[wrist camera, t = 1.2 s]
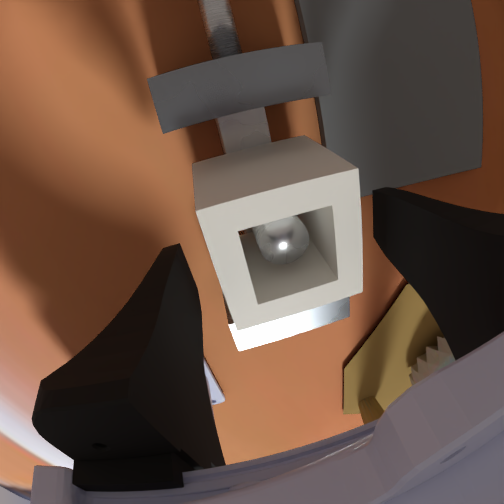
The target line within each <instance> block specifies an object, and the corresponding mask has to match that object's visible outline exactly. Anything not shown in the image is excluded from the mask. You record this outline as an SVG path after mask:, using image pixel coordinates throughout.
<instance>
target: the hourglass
mask: <svg viewBox="0 0 504 504" xmlns="http://www.w3.org/2000/svg"><path fill="white" fill-rule="evenodd" d="M454 361H455V358H454V356H453V354H452V352H451V350H450V347H449V345H448V343H447V341H446V339H445V337H444V335H443V333H442V332H441V330H440V328H439V326H438V324H437V322H436V321H435V319H434V317H433V316H432V314H431V312H430V311H429V309H428V307H427V306H426V304H425V303H424V301H423V300H422V299H421V297H420V296H419V295H418V293H417V292H416V291H415V290H414V288H413V287H412V286H411V285H410V284H407V285H406V286H405V288H404V289H403V291H402V292H401V294H400V295H399V297H398V298H397V300H396V301H395V303H394V304H393V305H392V307H391V308H390V310H389V311H388V312H387V314H386V315H385V317H384V318H383V319H382V321H381V322H380V323H379V325H378V326H377V328H376V329H375V330H374V332H373V333H372V334H371V336H370V337H369V338H368V339H367V341H366V342H365V343H364V345H363V346H362V347H361V349H360V350H359V351H358V352H357V354H356V355H355V356H354V357H353V359H352V360H351V361H350V362H349V364H348V365H347V366H346V367H345V368H344V412H343V414H360V413H361V416H362V419H363V423H364V425H365V424H367V423H370V422H372V421H374V420H377V419H379V418H380V417H381V416H382V414H383V413H384V411H385V410H386V408H387V407H388V405H390V404H391V403H392V402H393V401H394V400H396V399H397V398H398V397H399V396H400V395H401V394H403V393H404V392H405V391H406V390H407V389H408V388H410V387H411V386H413V385H415V384H416V383H418V382H419V381H421V380H423V379H424V378H426V377H427V376H429V375H430V374H432V373H434V372H435V371H437V370H439V369H441V368H443V367H445V366H447V365H449V364H450V363H452V362H454Z"/></svg>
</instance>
